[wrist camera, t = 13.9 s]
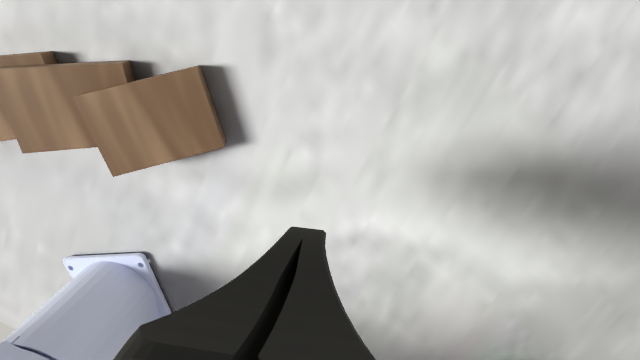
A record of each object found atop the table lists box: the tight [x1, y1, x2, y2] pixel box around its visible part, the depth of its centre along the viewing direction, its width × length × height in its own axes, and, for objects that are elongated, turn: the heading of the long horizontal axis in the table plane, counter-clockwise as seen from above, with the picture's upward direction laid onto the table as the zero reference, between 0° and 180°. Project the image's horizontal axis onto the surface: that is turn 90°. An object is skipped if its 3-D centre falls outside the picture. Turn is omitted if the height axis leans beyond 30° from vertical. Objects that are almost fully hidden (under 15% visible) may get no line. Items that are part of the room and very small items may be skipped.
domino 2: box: [0, 60, 135, 153], centre depth 22 cm, size 2×5×7 cm
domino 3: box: [72, 65, 226, 177], centre depth 21 cm, size 2×5×7 cm
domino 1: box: [0, 51, 57, 141], centre depth 22 cm, size 2×5×7 cm
